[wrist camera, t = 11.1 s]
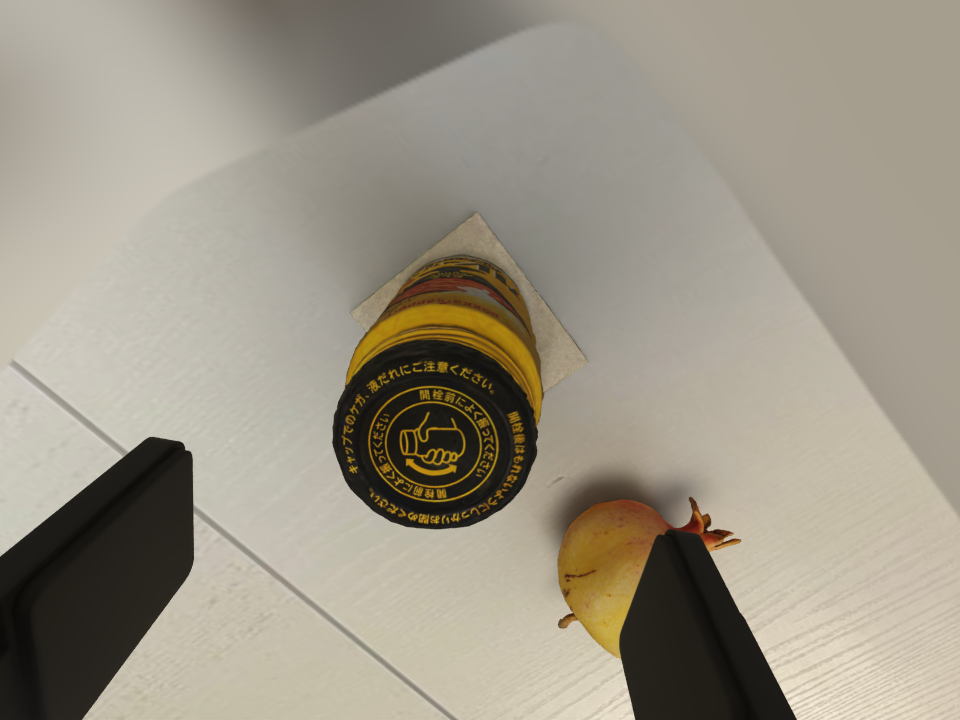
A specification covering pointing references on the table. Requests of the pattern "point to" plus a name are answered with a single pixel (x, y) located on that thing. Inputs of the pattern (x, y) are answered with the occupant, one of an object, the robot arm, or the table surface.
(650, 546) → the fruit
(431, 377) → the condiment
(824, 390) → the table surface
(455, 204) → the table surface
